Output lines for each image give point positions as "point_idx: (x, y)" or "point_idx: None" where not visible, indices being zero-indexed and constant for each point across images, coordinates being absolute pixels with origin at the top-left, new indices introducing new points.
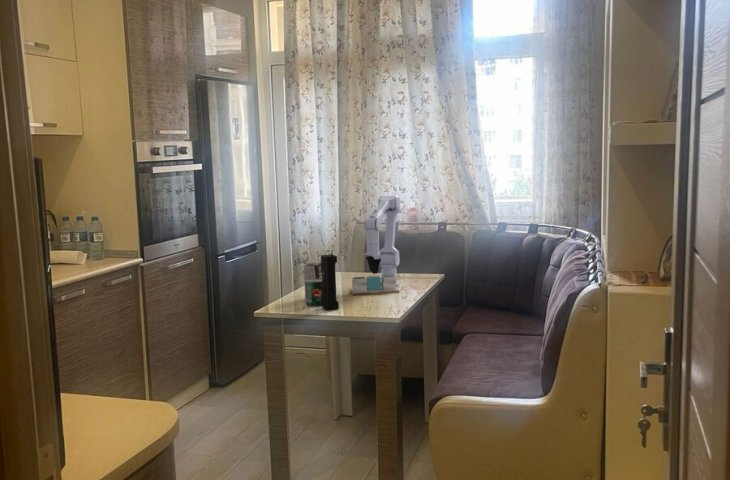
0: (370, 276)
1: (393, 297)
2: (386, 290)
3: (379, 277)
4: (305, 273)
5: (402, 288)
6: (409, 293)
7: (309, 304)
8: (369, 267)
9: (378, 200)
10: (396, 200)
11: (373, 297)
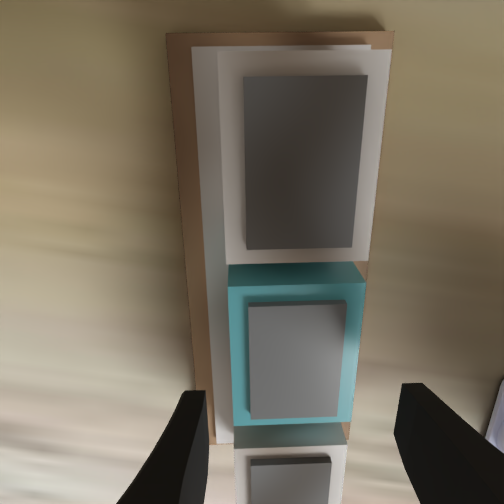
0: (318, 333)
1: (9, 372)
2: (212, 369)
3: (241, 415)
4: None
5: (350, 469)
6: None
7: None
8: (439, 426)
9: None
10: None
11: (30, 229)
